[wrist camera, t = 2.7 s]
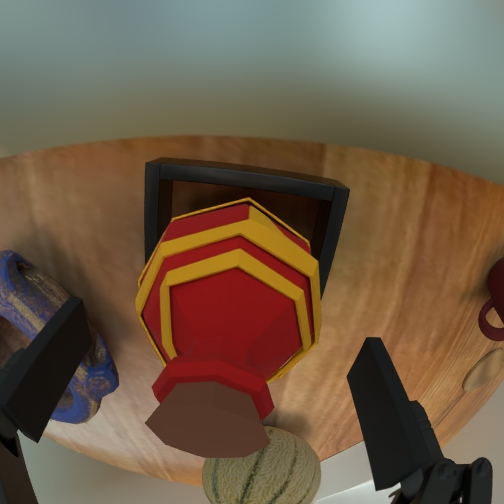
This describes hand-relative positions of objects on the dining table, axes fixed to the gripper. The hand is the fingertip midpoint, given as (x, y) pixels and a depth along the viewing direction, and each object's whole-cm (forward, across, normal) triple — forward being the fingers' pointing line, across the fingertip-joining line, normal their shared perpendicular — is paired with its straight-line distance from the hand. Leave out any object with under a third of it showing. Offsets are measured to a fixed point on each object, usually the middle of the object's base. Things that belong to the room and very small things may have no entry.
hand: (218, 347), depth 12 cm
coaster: (+10, +40, -15) cm, 44 cm away
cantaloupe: (+11, +6, -27) cm, 30 cm away
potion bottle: (+11, 0, 0) cm, 11 cm away
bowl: (+11, -19, -10) cm, 24 cm away
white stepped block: (+10, +29, -40) cm, 51 cm away
